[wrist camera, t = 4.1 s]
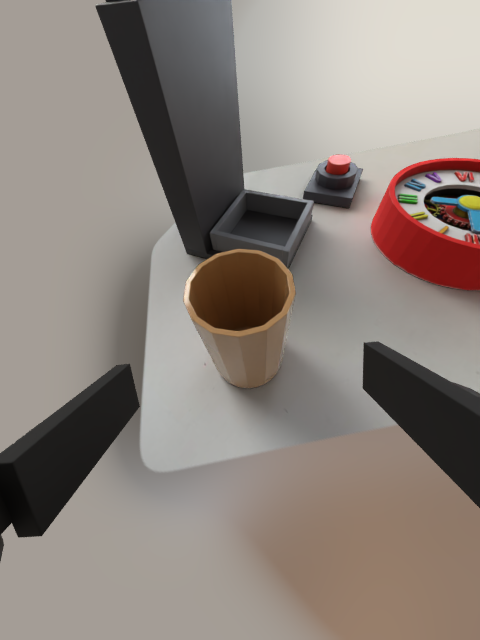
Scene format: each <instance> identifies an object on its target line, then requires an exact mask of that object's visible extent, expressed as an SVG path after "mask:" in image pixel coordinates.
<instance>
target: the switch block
mask: <svg viewBox="0 0 480 640" xmlns="http://www.w3.org/2000/svg"><path fill="white" fill-rule="evenodd" d="M327 163H328V160H327V161H324V162H322V163H320V164H319V165H318V167H317V169H316V171H315V173H314V174H313V176H312V178H311V180H310V182H309V183H308V185H307V187H306V189H305V191H304V196H303V199H305V200H311V201H314V202H315V203H321V204H327V205H333V206H339V207H345V208H349V207H350V204H351V202H352V199H353V196H354V193H355V190H356V188H357V185H358V182H359V179H360V176H361V174H362V171H363V169H361V168H357V166H356V165H355V164H354V163H352V162H350V166H349V169H348V172H347V173H346V174H342V175H333V174H330V173H328V172H326V167H327Z"/></svg>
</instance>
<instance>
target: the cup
mask: <svg viewBox="0 0 480 640" xmlns="http://www.w3.org/2000/svg"><path fill="white" fill-rule="evenodd" d="M295 295H296V292H295V287H294V281H293V276H292V273H291V272H290V271H289V270H288V269H287V268H286V266H285V265H284V264H283V263H282V262H281V261H280V260H279V259H278V258H276V257H273V256H271V255H269V254H267V253H265V252H262V251H260V250H248V249H234V250H230V251H226V252H222V253H217V254H215V255H214V256H212V257H210V258H209V259H207V260H205V261H204V262H202V263H201V264H199V265H198V266H197V267H196V269H195V270H194V271H193V273H192V274H191V275H190V277H189V278H188V279H187V281H186V285H185V292H184V299H183V302H184V304H185V306H186V308H187V310H188V313H189V315H190V317H191V319H192V321H193V323H194V325H195V327H196V329H197V331H198V333H199V335H200V337H201V339H202V341H203V343H204V345H205V346H206V348H207V350H208V352H209V354H210V356H211V358H212V360H213V362H214V364H215V366H216V368H217V370H218V372H219V374H220V375H221V376H222V377H223V378H224V379H225V380H226V381H228V382H229V383H231V384H232V385H235V386H237V387H241V388H255V387H259V386H261V385H264V384H266V383H267V382H269V381H270V380H271V379H272V378H273V377H274V376H275V375H276V374H277V372H278V370H279V368H280V365H281V362H282V359H283V355H284V350H285V345H286V340H287V335H288V330H289V325H290V320H291V315H292V310H293V305H294V300H295Z"/></svg>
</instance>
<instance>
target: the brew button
mask: <svg viewBox="0 0 480 640" xmlns="http://www.w3.org/2000/svg"><path fill="white" fill-rule="evenodd" d="M350 162H351V158H350V157H349V156H346V155H340V154H338V155H333V156H331V157H329V159H328V163H327V167H326V172H328V173H330V174H333V175H342V174H346V173H347V172H348V169H349V166H350Z"/></svg>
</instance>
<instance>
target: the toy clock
mask: <svg viewBox="0 0 480 640" xmlns="http://www.w3.org/2000/svg"><path fill="white" fill-rule="evenodd" d="M371 235H372V238H373V241H374V243H375V245H376V246H377V248H378V249H379V251H380V252H381V253H382V254H383V255H384V256H385V257H386V258H387V259H388V260H389V261H391V262H392V263H393V264H394V265H396V266H397V267H399V268H400V269H402V270H404V271H405V272H407V273H409V274H411V275H413V276H415V277H417V278H420V279H422V280H425V281H428V282H431V283H434V284H437V285H441V286H445V287H449V288H455V289H463V290H480V160H478V159H468V158H447V159H435V160H428V161H424V162H419V163H416V164H413V165H411V166H408V167H406V168H404V169H403V170H401V171H400V172H398V173H397V174H396V175H395V176H394V177H393V179H392V180H391V182H390V184H389V186H388V188H387V191H386V193H385V195H384V197H383V199H382V201H381V203H380V206H379V208H378V210H377V212H376V214H375V216H374V218H373V221H372V224H371Z"/></svg>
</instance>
